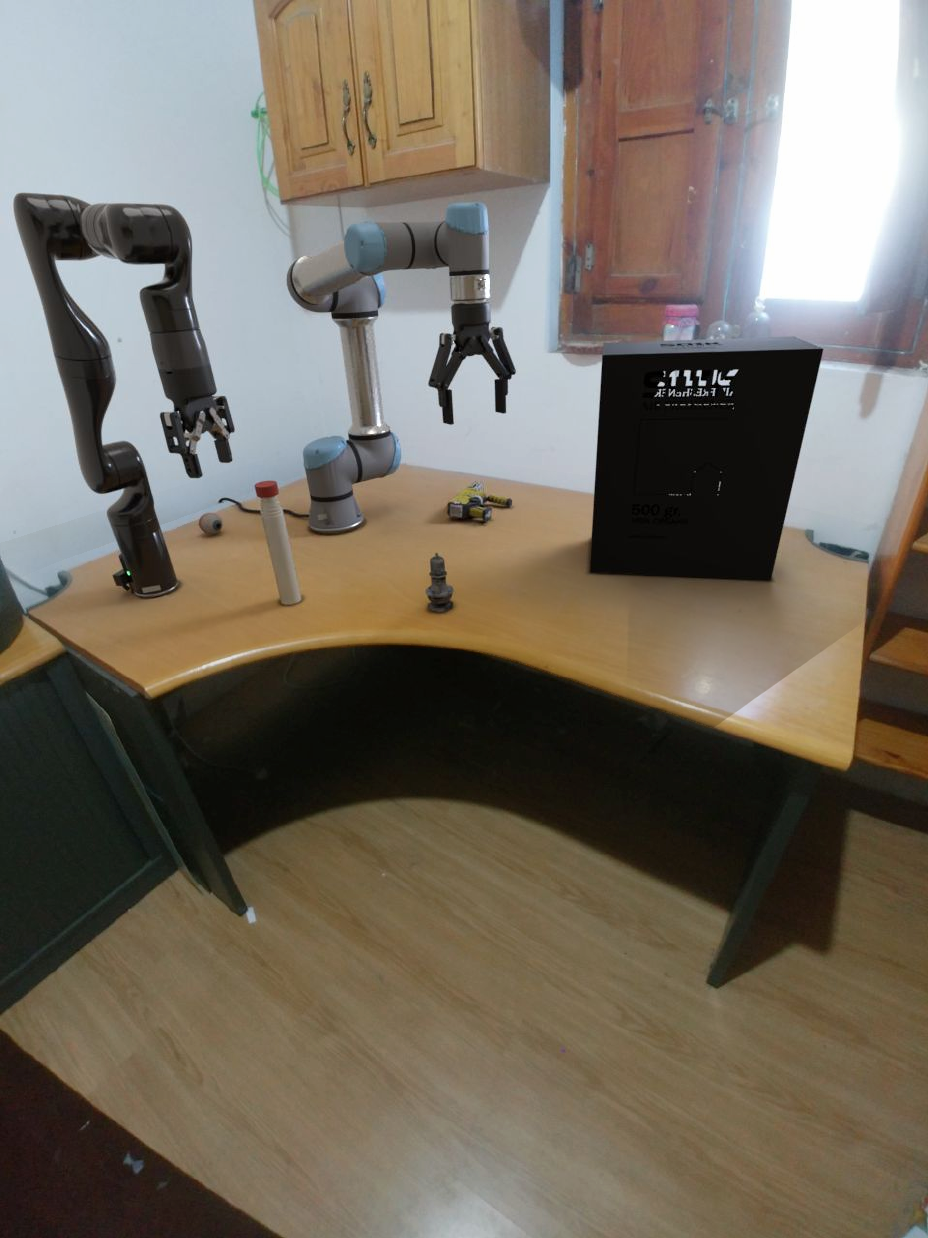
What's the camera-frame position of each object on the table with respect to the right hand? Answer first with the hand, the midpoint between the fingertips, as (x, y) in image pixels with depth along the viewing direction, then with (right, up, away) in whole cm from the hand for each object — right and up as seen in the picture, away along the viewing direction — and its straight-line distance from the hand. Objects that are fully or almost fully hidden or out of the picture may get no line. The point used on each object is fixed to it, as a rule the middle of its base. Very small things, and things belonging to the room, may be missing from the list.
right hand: (475, 417), depth 124 cm
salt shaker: (-7, -39, +1) cm, 40 cm away
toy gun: (+4, -10, +51) cm, 52 cm away
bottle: (-40, -37, +7) cm, 55 cm away
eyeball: (-72, -18, +44) cm, 86 cm away
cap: (-41, -15, -6) cm, 44 cm away
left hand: (-44, -17, -25) cm, 53 cm away
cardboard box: (+46, -27, +15) cm, 56 cm away
